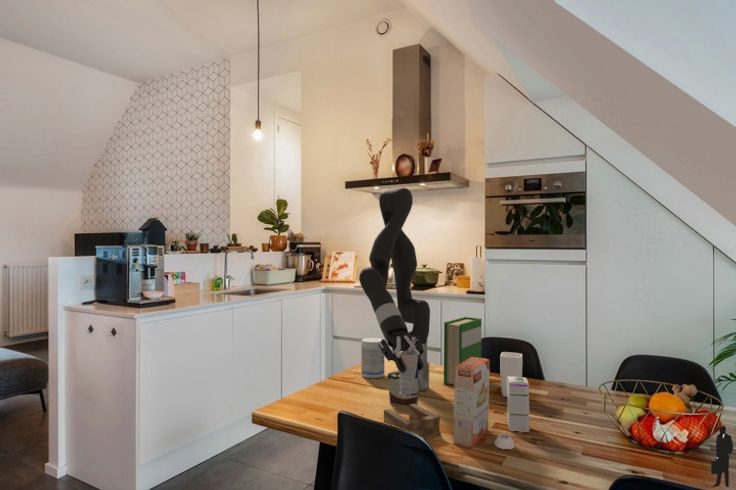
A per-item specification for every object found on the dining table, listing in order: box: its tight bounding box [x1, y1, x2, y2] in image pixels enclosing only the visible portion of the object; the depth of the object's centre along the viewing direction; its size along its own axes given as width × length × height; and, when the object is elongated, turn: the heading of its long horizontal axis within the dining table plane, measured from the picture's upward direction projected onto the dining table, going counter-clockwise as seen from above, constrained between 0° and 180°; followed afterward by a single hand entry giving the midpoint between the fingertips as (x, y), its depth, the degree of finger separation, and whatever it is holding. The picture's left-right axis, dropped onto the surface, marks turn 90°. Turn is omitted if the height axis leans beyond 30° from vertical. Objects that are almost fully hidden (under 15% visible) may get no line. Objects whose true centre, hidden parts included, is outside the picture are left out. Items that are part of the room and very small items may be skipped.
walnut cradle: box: [383, 404, 442, 440], centre depth 128 cm, size 12×12×5 cm
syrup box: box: [506, 376, 530, 433], centre depth 131 cm, size 6×6×14 cm
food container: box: [385, 370, 422, 408], centre depth 151 cm, size 12×6×10 cm, turn 65°
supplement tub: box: [360, 337, 385, 379], centre depth 183 cm, size 10×10×15 cm
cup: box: [499, 351, 523, 398], centre depth 159 cm, size 7×7×15 cm
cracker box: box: [452, 357, 491, 448], centre depth 124 cm, size 14×6×21 cm, turn 148°
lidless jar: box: [494, 432, 515, 450], centre depth 119 cm, size 5×3×5 cm
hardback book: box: [443, 316, 482, 386], centre depth 176 cm, size 18×7×24 cm, turn 142°
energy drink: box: [399, 351, 419, 398], centre depth 128 cm, size 5×5×12 cm
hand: (412, 369), depth 126 cm, fingers closed on energy drink, 5 cm apart
